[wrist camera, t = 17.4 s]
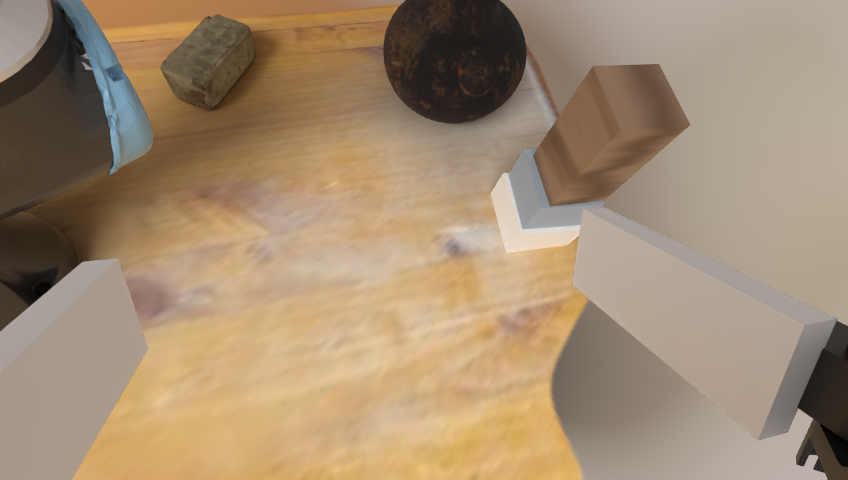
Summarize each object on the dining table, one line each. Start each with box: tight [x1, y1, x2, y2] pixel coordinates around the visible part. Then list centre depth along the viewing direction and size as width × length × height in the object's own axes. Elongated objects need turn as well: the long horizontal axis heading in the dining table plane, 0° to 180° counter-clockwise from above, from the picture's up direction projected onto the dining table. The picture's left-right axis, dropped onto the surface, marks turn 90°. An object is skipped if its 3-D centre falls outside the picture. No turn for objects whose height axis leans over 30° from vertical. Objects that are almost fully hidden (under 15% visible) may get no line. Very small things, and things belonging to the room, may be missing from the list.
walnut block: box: [533, 64, 690, 207], centre depth 37 cm, size 6×6×12 cm
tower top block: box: [508, 148, 604, 229], centre depth 45 cm, size 7×7×5 cm
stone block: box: [161, 15, 255, 110], centre depth 51 cm, size 6×12×5 cm, turn 160°
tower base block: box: [491, 173, 580, 253], centre depth 49 cm, size 8×8×5 cm
